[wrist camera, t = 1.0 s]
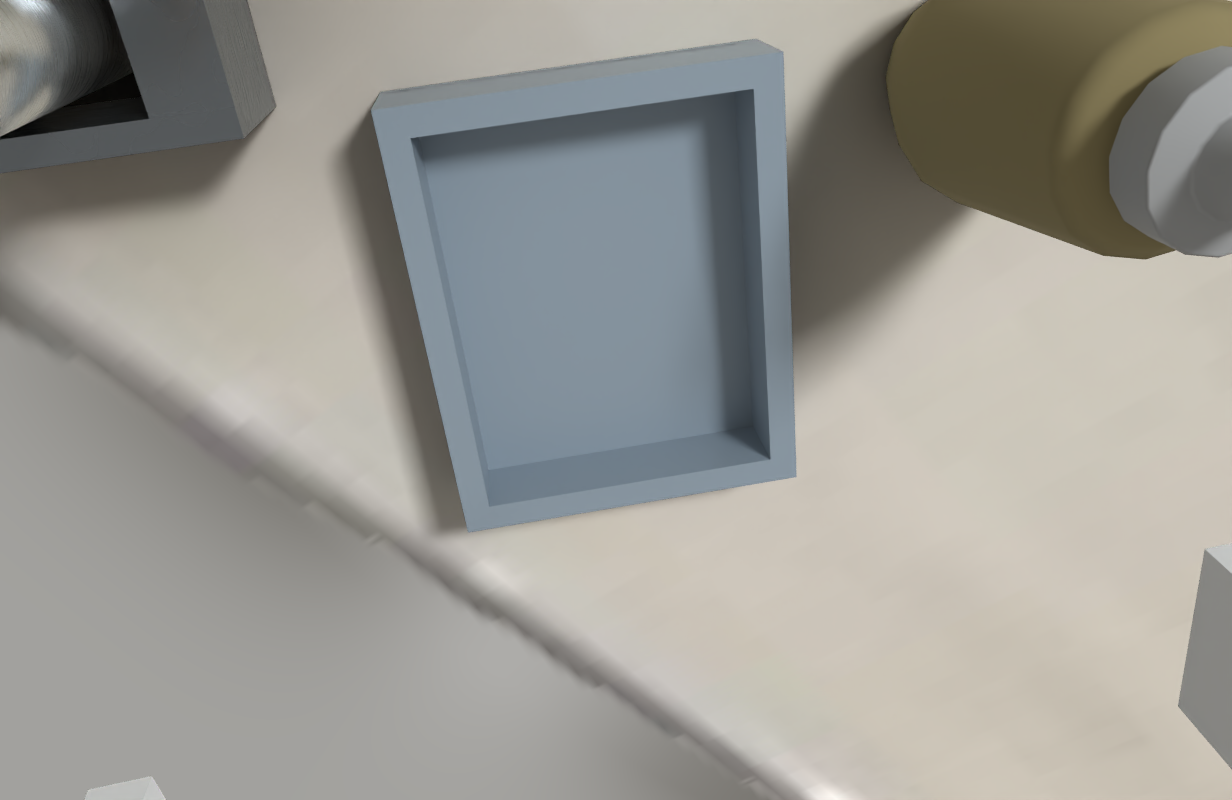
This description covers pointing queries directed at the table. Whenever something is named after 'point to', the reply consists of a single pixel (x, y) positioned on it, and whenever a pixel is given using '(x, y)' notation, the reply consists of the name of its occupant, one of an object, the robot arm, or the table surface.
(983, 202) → the squeeze bottle
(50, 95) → the glass jar with lid
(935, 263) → the table surface
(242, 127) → the grey boxy piece
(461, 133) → the parts tray
